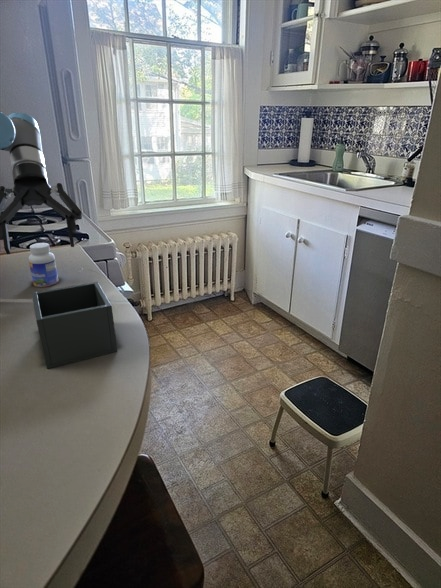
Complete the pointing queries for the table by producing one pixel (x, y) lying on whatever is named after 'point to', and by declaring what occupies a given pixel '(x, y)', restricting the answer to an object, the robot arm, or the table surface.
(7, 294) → the table surface
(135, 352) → the table surface
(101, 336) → the trash bin
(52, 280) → the pill bottle
